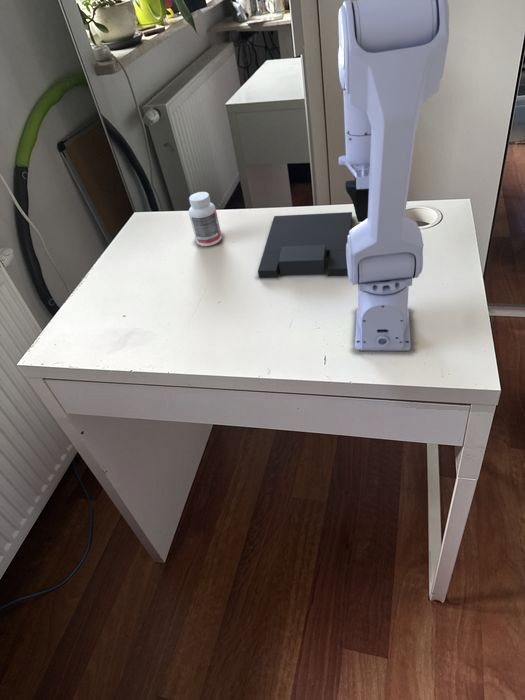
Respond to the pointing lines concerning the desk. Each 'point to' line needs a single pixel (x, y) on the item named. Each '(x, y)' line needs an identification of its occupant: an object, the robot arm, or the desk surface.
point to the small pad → (302, 260)
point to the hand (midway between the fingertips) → (364, 209)
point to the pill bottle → (204, 219)
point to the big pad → (308, 239)
